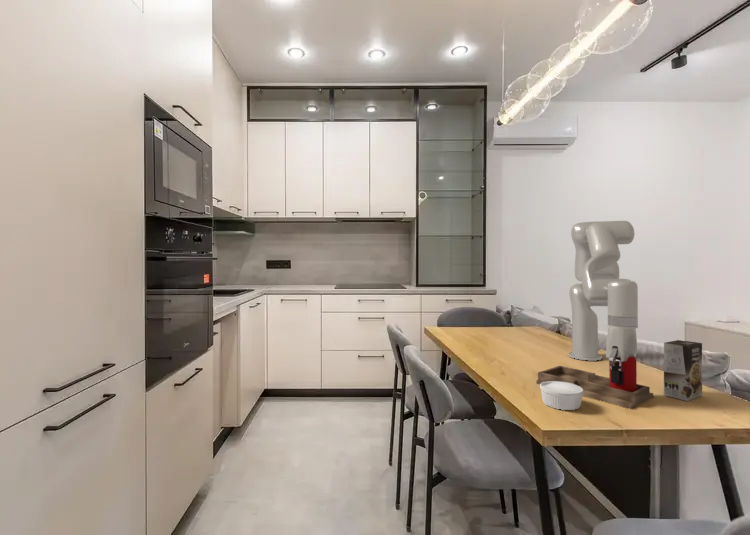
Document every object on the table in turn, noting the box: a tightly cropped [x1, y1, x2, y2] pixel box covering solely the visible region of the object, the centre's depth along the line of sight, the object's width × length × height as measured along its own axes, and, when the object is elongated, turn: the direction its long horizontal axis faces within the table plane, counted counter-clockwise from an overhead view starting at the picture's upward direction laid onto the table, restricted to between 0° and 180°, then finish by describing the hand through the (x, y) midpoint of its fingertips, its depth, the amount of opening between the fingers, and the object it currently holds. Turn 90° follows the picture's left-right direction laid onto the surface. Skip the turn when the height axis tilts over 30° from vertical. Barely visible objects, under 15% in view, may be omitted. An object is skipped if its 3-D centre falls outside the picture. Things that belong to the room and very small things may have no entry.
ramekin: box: [539, 381, 583, 411], centre depth 106 cm, size 11×11×5 cm
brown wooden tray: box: [535, 365, 654, 410], centre depth 118 cm, size 28×16×4 cm, turn 35°
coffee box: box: [663, 339, 703, 402], centre depth 112 cm, size 9×6×16 cm
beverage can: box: [608, 355, 638, 392], centre depth 111 cm, size 7×7×12 cm
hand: (622, 380), depth 111 cm, fingers closed on beverage can, 6 cm apart
